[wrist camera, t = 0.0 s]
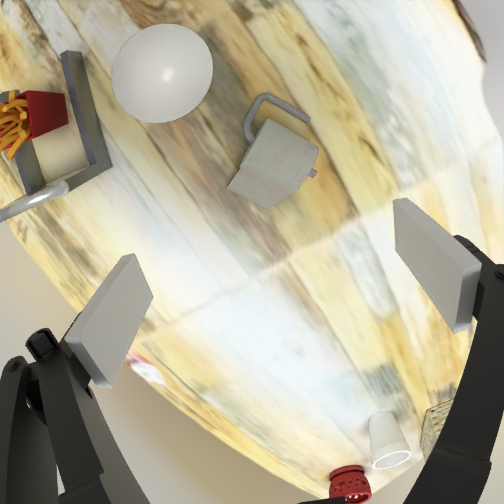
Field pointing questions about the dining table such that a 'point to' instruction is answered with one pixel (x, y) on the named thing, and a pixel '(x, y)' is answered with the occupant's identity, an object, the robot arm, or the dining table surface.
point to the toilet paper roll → (273, 158)
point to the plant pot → (350, 484)
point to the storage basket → (433, 426)
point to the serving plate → (162, 73)
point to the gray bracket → (89, 135)
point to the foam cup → (387, 441)
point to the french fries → (29, 117)
